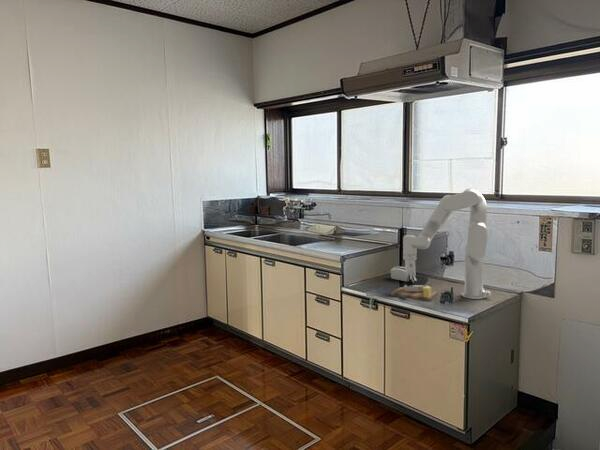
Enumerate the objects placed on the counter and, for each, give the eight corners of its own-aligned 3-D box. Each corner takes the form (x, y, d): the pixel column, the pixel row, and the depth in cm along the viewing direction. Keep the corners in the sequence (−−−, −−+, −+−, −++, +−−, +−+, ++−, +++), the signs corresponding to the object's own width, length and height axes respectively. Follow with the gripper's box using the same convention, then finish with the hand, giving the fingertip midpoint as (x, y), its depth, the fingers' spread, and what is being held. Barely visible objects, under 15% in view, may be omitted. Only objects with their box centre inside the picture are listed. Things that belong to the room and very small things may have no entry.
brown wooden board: (438, 294, 260) (438, 292, 260) (430, 301, 249) (430, 298, 249) (400, 289, 273) (400, 287, 273) (391, 295, 262) (390, 292, 262)
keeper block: (431, 295, 254) (431, 286, 254) (428, 297, 251) (428, 288, 250) (425, 294, 256) (425, 286, 255) (423, 296, 253) (423, 288, 252)
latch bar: (428, 290, 263) (428, 285, 263) (429, 292, 260) (429, 286, 260) (404, 290, 265) (404, 285, 265) (404, 292, 262) (404, 286, 261)
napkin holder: (417, 281, 290) (414, 267, 287) (413, 285, 288) (410, 271, 284) (395, 276, 303) (392, 263, 299) (391, 280, 300) (388, 267, 296)
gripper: (418, 259, 255) (418, 291, 258) (414, 253, 270) (414, 284, 273) (404, 259, 256) (404, 291, 259) (401, 253, 271) (402, 284, 274)
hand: (409, 287), depth 266 cm, fingers closed
